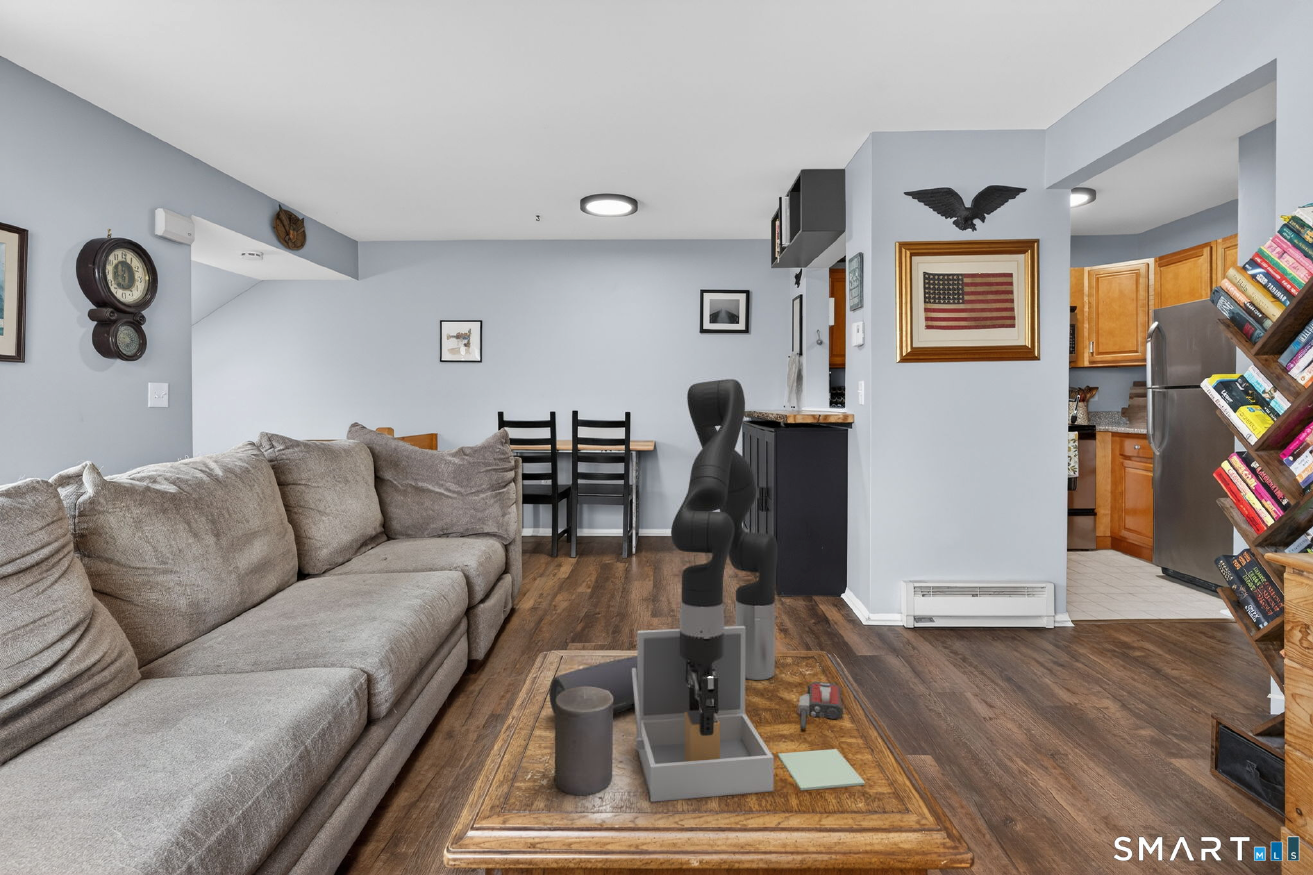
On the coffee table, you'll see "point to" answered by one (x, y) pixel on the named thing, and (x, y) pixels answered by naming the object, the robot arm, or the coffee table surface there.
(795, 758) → the pad
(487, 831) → the coffee table surface
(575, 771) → the pillar candle
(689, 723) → the block
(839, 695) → the walkie-talkie
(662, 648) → the equipment case
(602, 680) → the bluetooth speaker
